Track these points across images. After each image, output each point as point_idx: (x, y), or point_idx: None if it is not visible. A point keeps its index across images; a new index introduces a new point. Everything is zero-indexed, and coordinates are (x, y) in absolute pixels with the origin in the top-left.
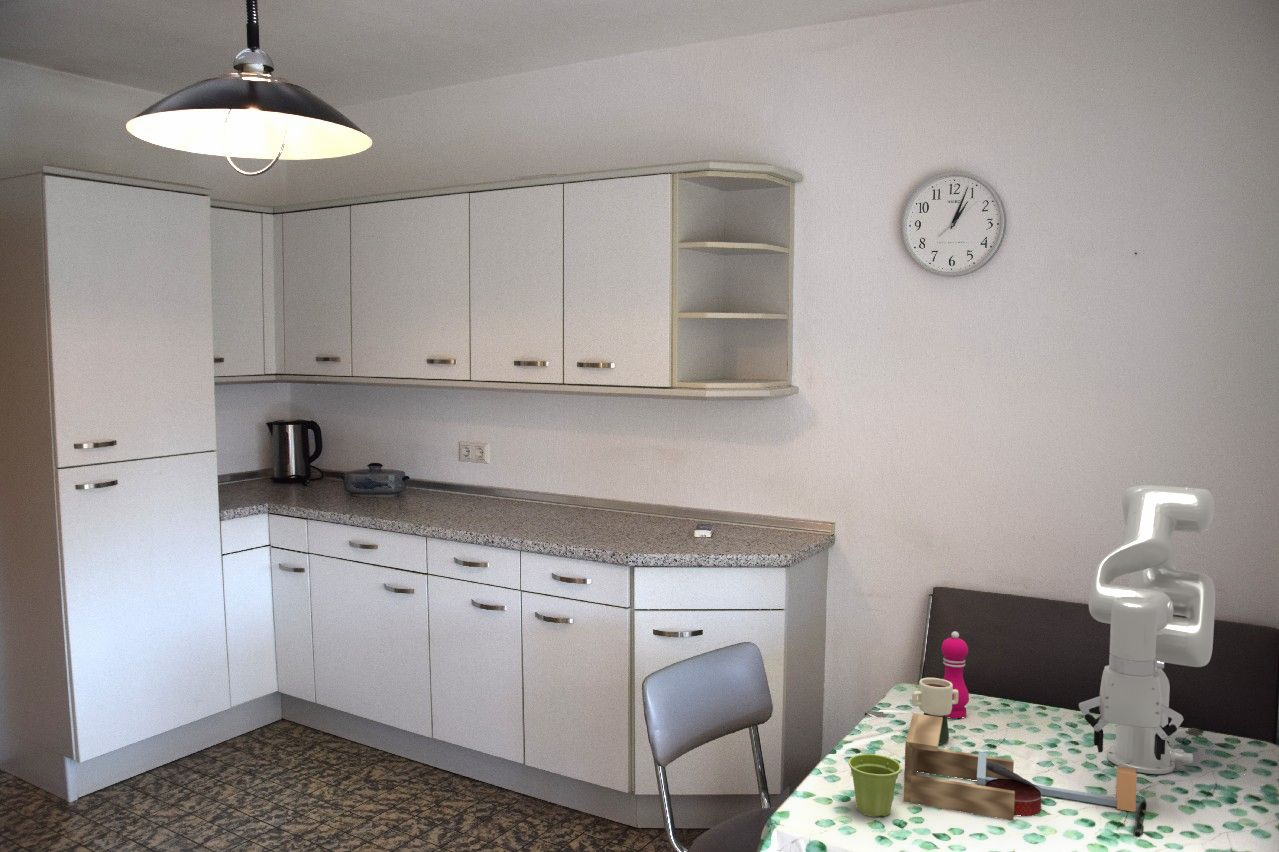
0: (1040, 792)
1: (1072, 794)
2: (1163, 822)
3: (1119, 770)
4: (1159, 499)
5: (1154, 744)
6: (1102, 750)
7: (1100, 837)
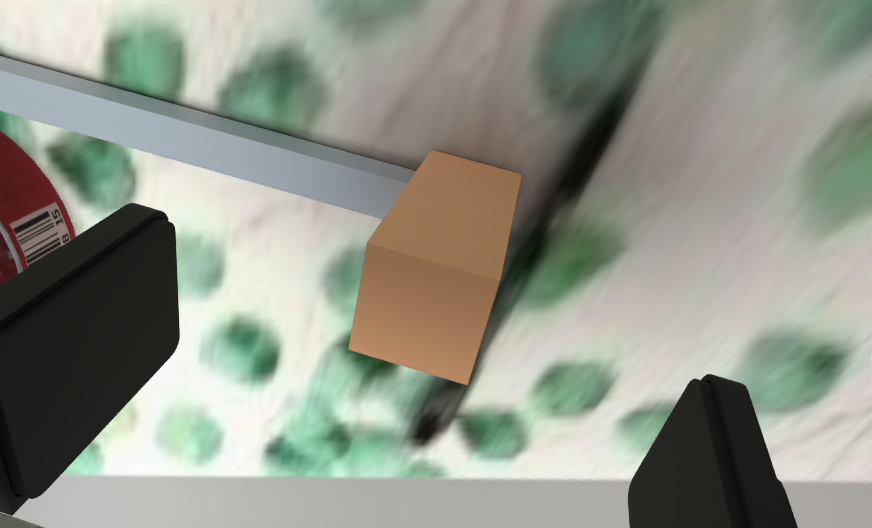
0: (17, 266)
1: (191, 162)
2: (600, 335)
3: (361, 324)
4: None
5: (714, 451)
6: (165, 358)
7: (278, 454)
